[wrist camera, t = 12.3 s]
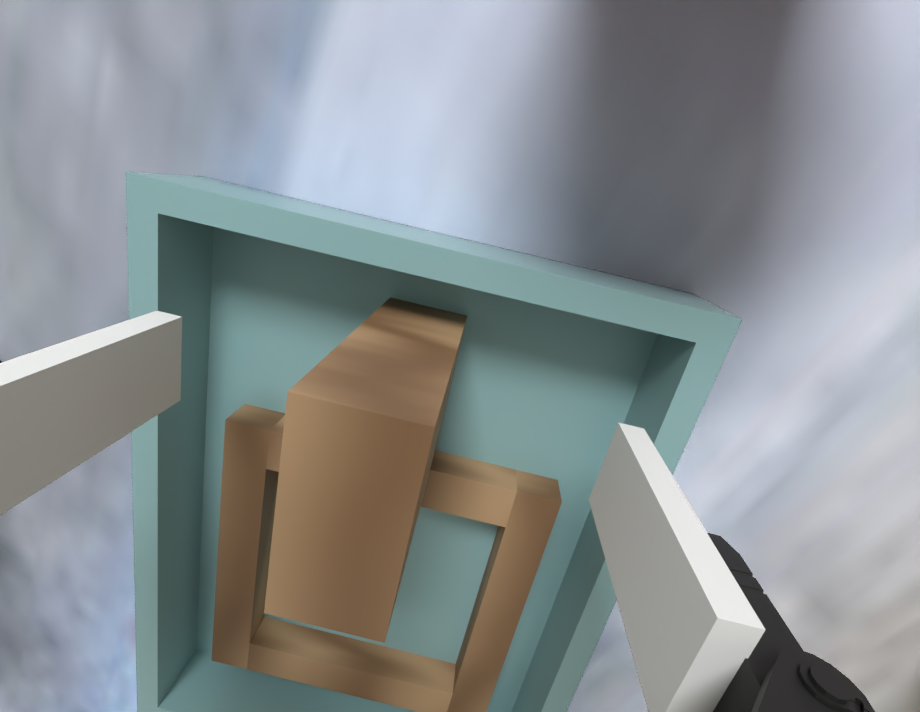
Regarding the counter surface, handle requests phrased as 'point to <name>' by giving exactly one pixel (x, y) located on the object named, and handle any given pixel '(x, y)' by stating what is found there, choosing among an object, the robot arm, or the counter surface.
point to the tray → (462, 433)
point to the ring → (366, 521)
